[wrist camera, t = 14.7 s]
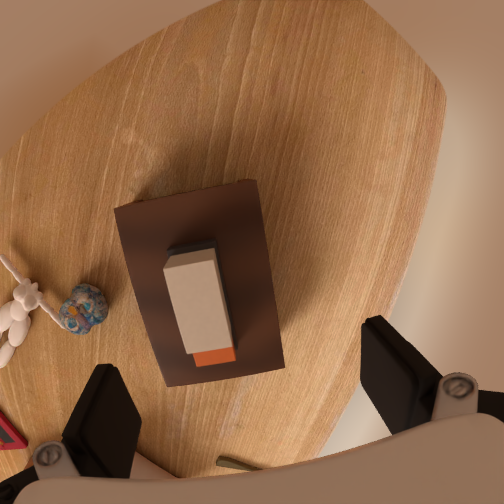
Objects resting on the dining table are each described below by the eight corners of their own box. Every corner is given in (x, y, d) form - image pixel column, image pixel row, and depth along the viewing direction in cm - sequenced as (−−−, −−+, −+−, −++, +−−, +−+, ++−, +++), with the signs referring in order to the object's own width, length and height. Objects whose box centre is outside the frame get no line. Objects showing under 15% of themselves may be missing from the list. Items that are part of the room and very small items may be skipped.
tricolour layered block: (168, 247, 25) (158, 262, 21) (215, 237, 26) (215, 251, 21) (195, 350, 28) (192, 379, 24) (237, 343, 28) (241, 372, 24)
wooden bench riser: (132, 201, 30) (113, 208, 24) (249, 178, 31) (256, 179, 25) (173, 356, 35) (167, 387, 29) (275, 338, 35) (285, 368, 29)
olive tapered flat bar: (214, 461, 40) (214, 465, 39) (220, 454, 40) (220, 459, 39) (280, 476, 43) (281, 480, 42) (287, 470, 42) (288, 474, 41)
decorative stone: (87, 272, 29) (107, 314, 29) (101, 278, 33) (120, 316, 33) (43, 301, 28) (61, 343, 27) (60, 305, 32) (77, 342, 31)
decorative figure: (-30, 328, 31) (11, 243, 29) (24, 385, 34) (77, 314, 32) (-42, 338, 28) (-4, 250, 26) (14, 398, 30) (65, 327, 29)
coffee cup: (204, 474, 40) (130, 434, 35) (192, 525, 32) (108, 492, 26) (166, 473, 44) (98, 435, 38) (153, 517, 36) (78, 483, 30)
